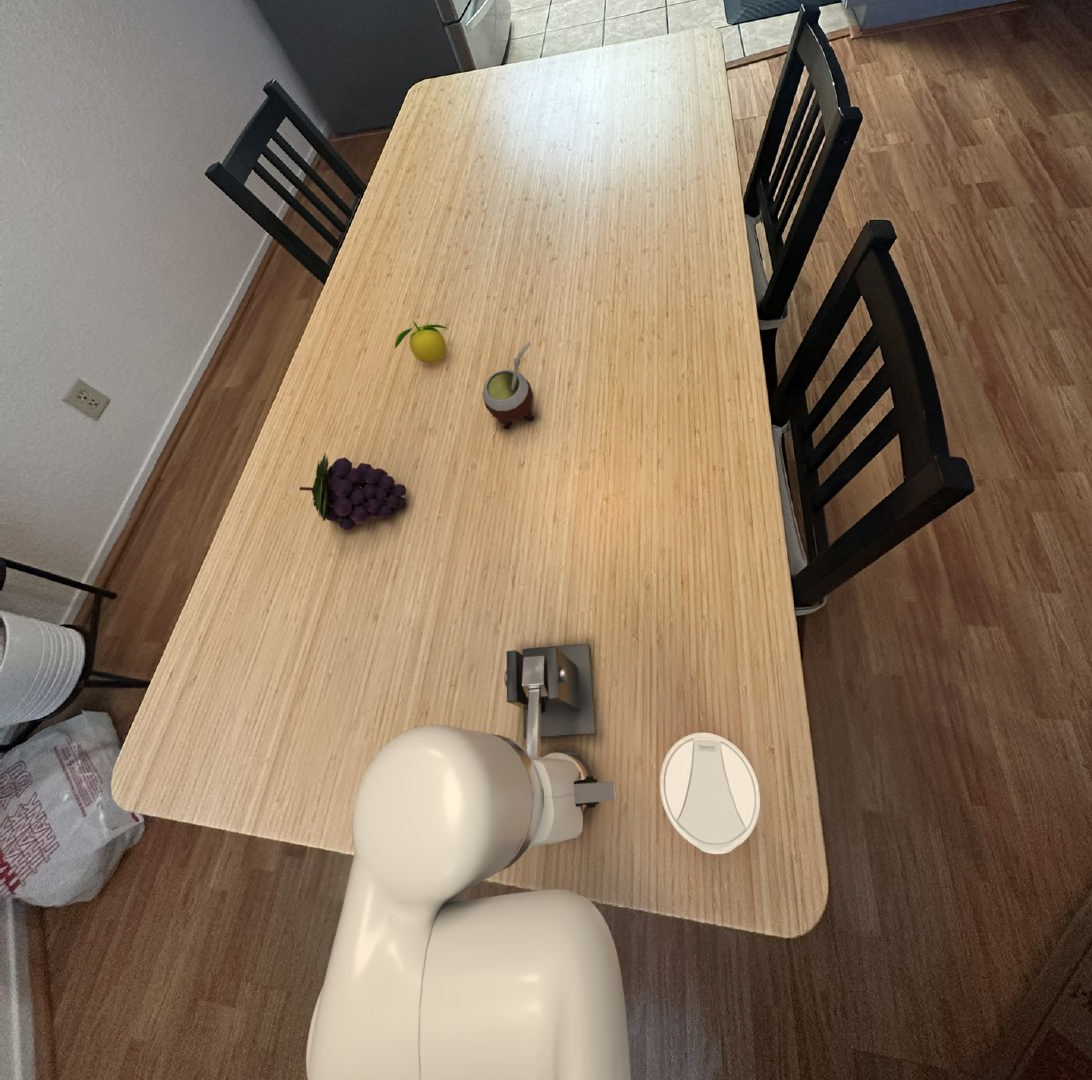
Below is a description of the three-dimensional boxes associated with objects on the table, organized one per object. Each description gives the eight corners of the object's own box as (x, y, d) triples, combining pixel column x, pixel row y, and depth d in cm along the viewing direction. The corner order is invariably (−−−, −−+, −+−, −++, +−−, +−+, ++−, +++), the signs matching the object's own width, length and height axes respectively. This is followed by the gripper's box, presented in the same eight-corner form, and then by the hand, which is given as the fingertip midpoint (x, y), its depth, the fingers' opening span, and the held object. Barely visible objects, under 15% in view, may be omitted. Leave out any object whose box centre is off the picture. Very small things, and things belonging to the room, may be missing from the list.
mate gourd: (485, 423, 92) (453, 370, 80) (511, 381, 96) (485, 325, 84) (526, 441, 89) (500, 389, 77) (552, 398, 93) (531, 341, 80)
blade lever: (562, 809, 52) (557, 798, 50) (505, 812, 52) (498, 801, 51) (563, 666, 62) (558, 654, 60) (514, 670, 62) (509, 658, 61)
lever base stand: (597, 734, 68) (576, 726, 56) (526, 738, 69) (490, 732, 57) (590, 645, 73) (569, 620, 61) (524, 650, 74) (491, 627, 62)
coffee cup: (664, 735, 66) (658, 727, 54) (744, 742, 65) (755, 736, 52) (666, 833, 62) (660, 849, 49) (752, 844, 60) (767, 862, 48)
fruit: (408, 534, 88) (302, 534, 87) (414, 462, 93) (313, 461, 92) (397, 523, 79) (278, 522, 78) (404, 443, 83) (292, 441, 82)
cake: (596, 822, 63) (590, 825, 60) (535, 825, 64) (526, 828, 61) (590, 748, 67) (585, 747, 64) (533, 752, 68) (525, 751, 64)
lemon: (411, 371, 101) (386, 336, 93) (422, 342, 104) (399, 305, 96) (448, 375, 99) (426, 339, 91) (459, 345, 102) (438, 308, 94)
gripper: (350, 880, 39) (443, 850, 54) (620, 872, 37) (641, 843, 51) (364, 741, 43) (447, 748, 58) (608, 725, 41) (630, 737, 56)
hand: (538, 792), depth 54 cm, fingers open, 5 cm apart
